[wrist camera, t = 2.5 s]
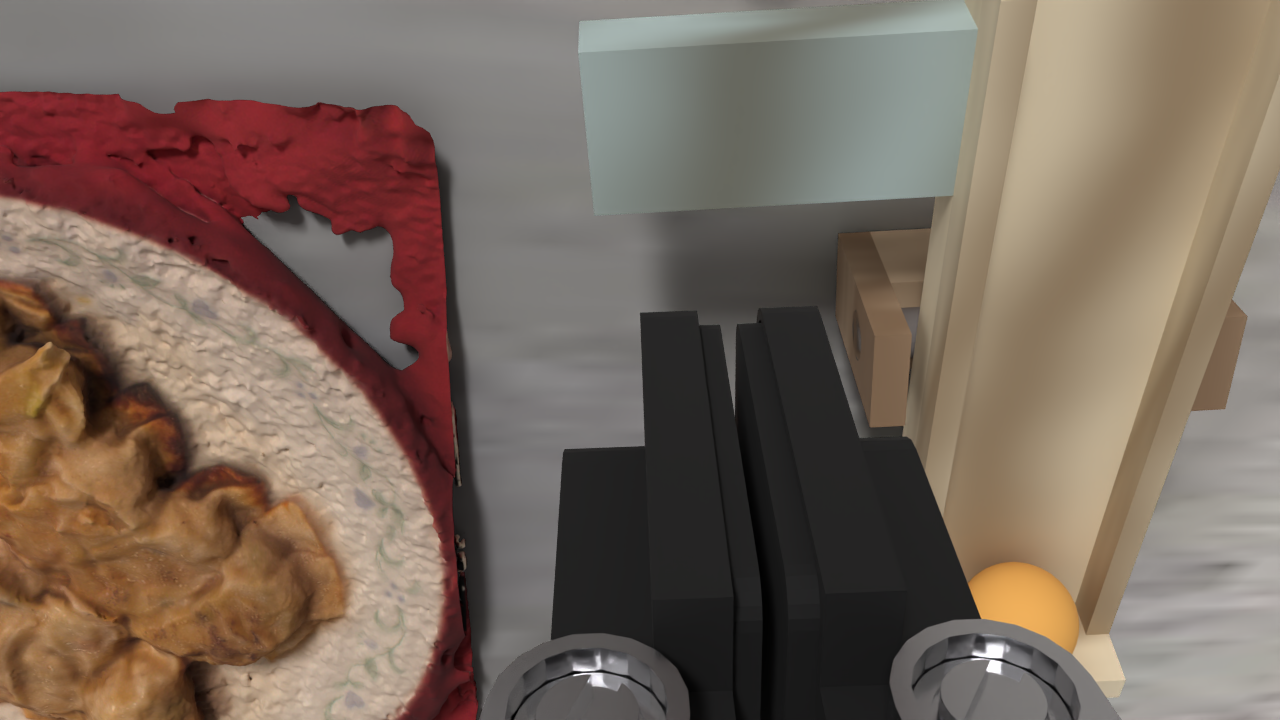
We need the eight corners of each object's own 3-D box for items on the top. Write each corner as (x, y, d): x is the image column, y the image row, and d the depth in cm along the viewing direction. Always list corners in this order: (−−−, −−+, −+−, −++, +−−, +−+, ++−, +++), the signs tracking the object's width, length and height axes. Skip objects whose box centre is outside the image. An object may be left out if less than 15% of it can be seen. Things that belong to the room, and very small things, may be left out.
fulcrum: (1155, 215, 30) (1247, 316, 25) (1139, 299, 31) (1225, 409, 27) (838, 233, 30) (874, 336, 26) (835, 315, 31) (869, 427, 27)
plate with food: (444, 84, 29) (419, 133, 26) (487, 816, 42) (474, 906, 39) (-573, 58, 29) (-721, 104, 25) (-208, 801, 42) (-276, 891, 39)
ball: (1069, 534, 30) (1106, 633, 28) (1049, 605, 32) (1082, 703, 30) (951, 540, 30) (978, 639, 28) (938, 611, 32) (962, 709, 30)
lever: (1290, -75, 21) (1391, 19, 18) (1078, 584, 33) (1118, 697, 31) (574, -32, 21) (569, 67, 18) (635, 606, 34) (637, 719, 31)
